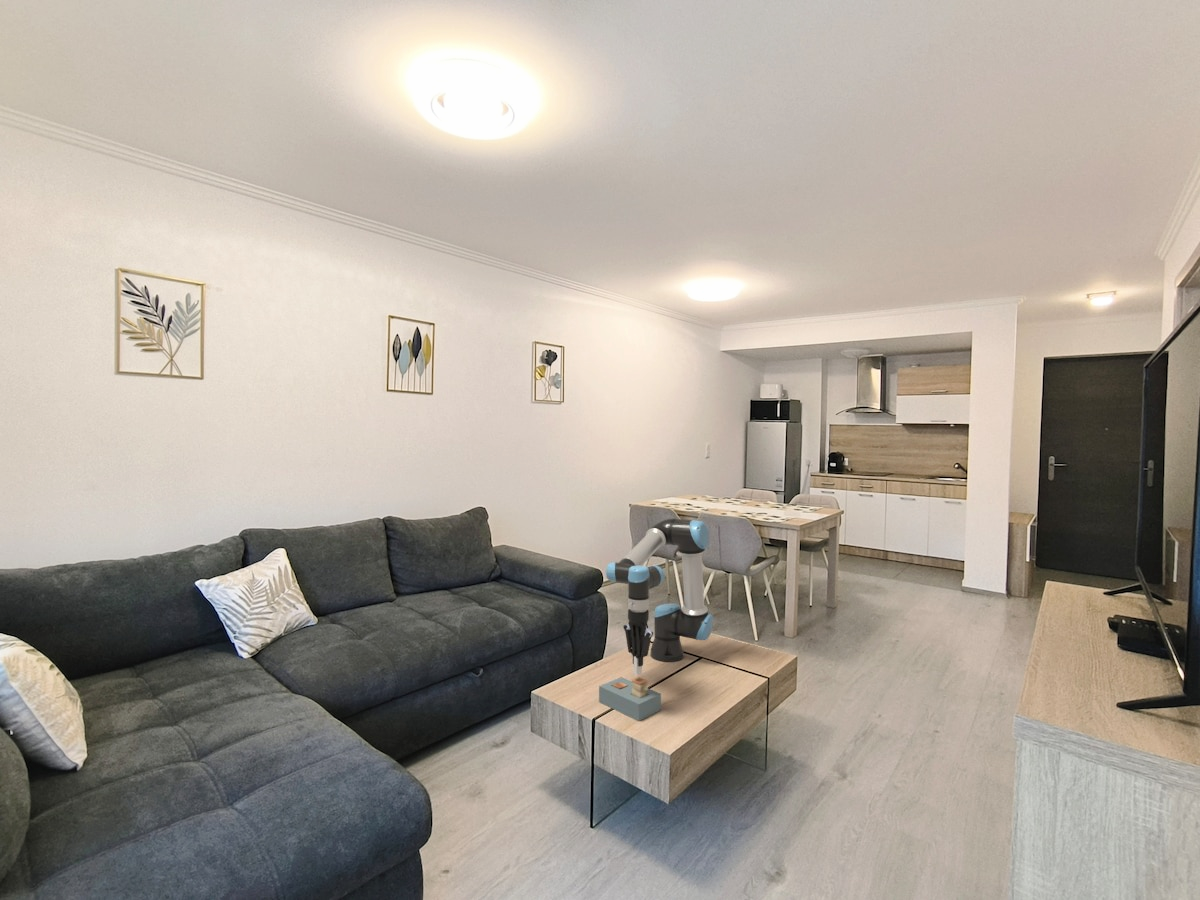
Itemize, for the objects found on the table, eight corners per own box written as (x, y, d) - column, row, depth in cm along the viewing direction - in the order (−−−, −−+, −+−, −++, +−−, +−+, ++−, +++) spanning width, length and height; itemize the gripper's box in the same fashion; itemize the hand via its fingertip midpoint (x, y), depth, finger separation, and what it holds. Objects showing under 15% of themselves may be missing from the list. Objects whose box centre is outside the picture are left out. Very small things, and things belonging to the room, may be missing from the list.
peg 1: (619, 697, 214) (619, 681, 213) (627, 701, 211) (627, 685, 211) (612, 700, 211) (612, 685, 211) (619, 704, 208) (620, 688, 208)
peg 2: (639, 693, 206) (639, 677, 206) (647, 697, 203) (647, 680, 203) (631, 696, 204) (631, 680, 203) (640, 700, 201) (640, 683, 201)
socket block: (621, 692, 218) (621, 677, 218) (660, 710, 204) (660, 693, 204) (599, 702, 210) (599, 686, 210) (638, 721, 196) (638, 704, 196)
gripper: (618, 607, 206) (617, 671, 206) (644, 615, 196) (644, 682, 196) (632, 603, 211) (631, 666, 211) (658, 611, 201) (658, 676, 202)
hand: (637, 674), depth 204 cm, fingers closed
